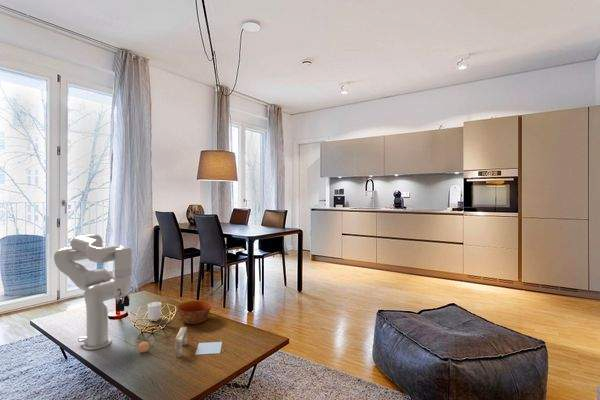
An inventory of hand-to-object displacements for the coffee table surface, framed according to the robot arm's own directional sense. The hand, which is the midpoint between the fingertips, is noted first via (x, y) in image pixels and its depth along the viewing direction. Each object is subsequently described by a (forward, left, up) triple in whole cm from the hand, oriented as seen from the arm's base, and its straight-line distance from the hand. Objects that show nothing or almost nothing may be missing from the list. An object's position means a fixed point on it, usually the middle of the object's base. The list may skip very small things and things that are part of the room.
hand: (123, 308), depth 161 cm
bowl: (+29, +36, -23) cm, 51 cm away
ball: (+10, 0, -20) cm, 22 cm away
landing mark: (+42, 0, -23) cm, 47 cm away
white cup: (+4, +41, -23) cm, 47 cm away
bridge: (+28, 0, -23) cm, 36 cm away
